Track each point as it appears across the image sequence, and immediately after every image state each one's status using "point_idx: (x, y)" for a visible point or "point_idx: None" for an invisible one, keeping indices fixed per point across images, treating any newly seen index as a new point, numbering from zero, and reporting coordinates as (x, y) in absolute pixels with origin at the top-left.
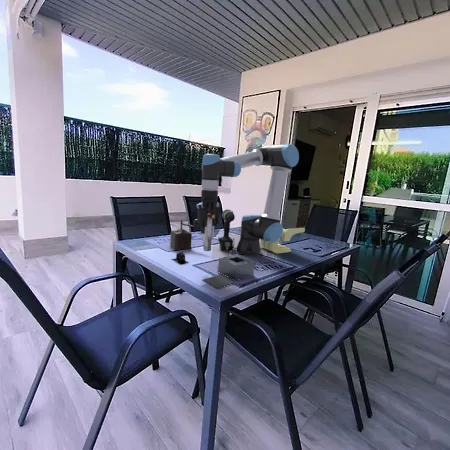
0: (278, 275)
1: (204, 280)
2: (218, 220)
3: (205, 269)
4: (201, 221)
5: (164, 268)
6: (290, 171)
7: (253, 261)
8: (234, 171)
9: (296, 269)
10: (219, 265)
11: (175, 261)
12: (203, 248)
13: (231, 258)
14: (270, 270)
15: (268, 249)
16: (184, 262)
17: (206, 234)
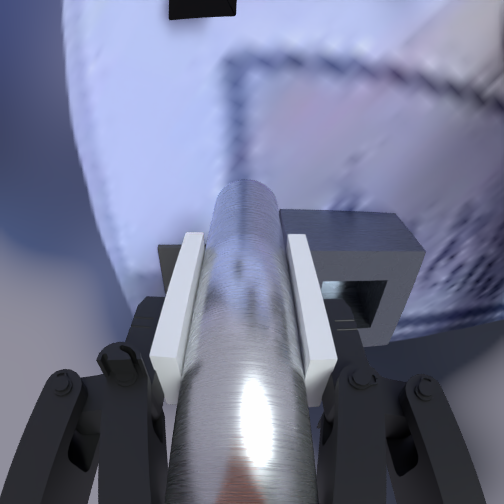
0: (422, 329)
1: (159, 258)
2: (407, 455)
3: (249, 148)
4: (81, 463)
5: (69, 45)
6: None
7: (382, 344)
8: None
9: (490, 319)
10: (284, 236)
11: None
12: (217, 200)
13: (348, 279)
14: (448, 296)
15: None
16: (206, 3)
17: None
